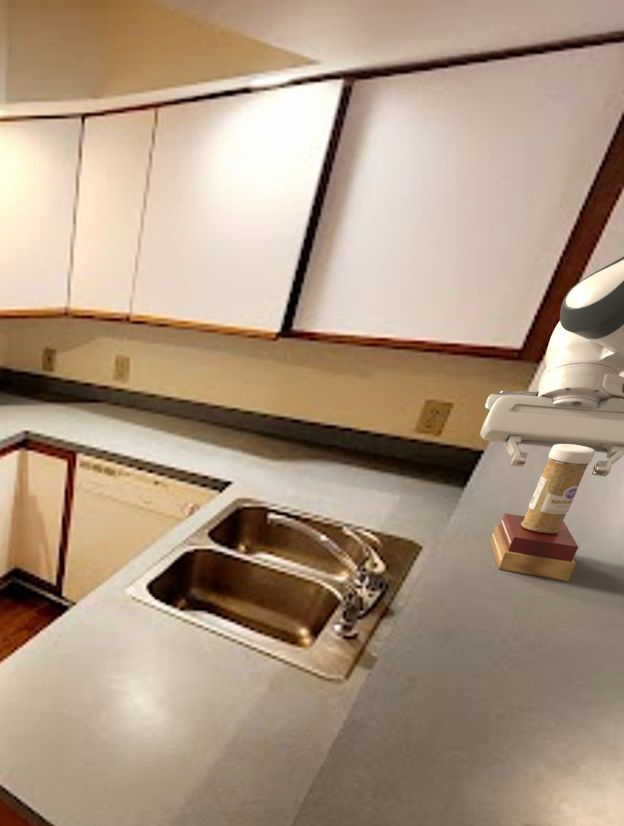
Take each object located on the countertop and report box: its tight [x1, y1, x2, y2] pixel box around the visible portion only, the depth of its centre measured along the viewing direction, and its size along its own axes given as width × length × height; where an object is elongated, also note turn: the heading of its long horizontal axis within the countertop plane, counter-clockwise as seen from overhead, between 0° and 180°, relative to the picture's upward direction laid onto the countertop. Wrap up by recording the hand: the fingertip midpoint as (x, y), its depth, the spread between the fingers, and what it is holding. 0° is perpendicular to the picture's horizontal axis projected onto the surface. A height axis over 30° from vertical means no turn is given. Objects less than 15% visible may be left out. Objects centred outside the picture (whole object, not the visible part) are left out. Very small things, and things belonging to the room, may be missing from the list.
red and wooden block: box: [489, 513, 579, 582], centre depth 99 cm, size 8×12×6 cm, turn 145°
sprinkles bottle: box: [521, 444, 596, 534], centre depth 95 cm, size 5×5×13 cm
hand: (558, 469), depth 98 cm, fingers open, 8 cm apart
